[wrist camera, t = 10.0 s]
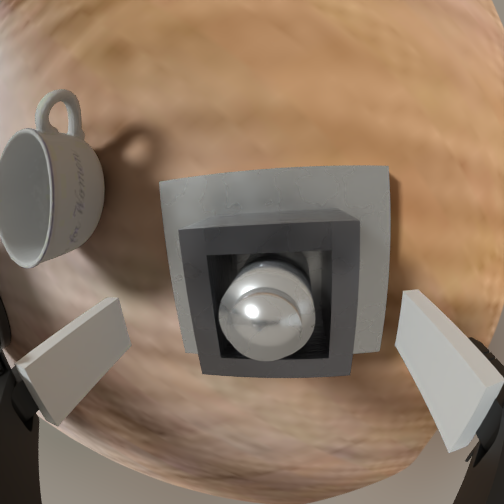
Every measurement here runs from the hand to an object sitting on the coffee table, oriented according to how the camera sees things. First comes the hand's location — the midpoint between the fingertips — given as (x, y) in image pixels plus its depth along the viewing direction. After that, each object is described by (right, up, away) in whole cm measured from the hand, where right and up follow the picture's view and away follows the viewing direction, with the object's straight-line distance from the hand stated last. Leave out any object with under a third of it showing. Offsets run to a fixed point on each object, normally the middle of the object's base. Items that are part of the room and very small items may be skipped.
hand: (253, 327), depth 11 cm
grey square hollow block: (+2, +2, +7) cm, 8 cm away
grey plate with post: (+2, +2, +9) cm, 9 cm away
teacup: (-16, +10, +10) cm, 21 cm away
